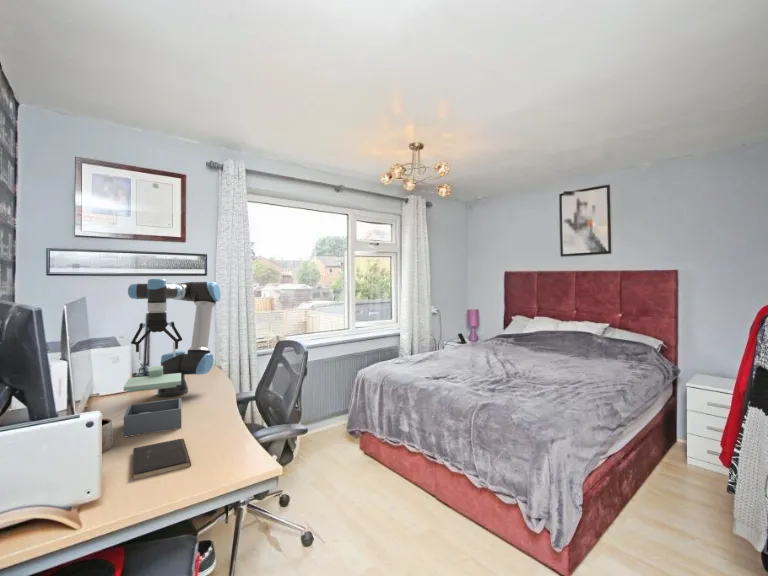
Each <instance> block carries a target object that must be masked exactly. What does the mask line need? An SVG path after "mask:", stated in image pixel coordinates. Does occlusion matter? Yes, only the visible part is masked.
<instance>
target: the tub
mask: <svg viewBox="0 0 768 576" xmlns="http://www.w3.org/2000/svg"><path fill="white" fill-rule="evenodd" d="M175 428H177V429H181V428H182V398H181V397H180V398H173V399H164V400H157V401H150V402H140V403H133V404H128V407H127V409H126V410H125V413H124V415H123V437H124V438H126V437H125V436H128V437H132V436H131V435H134V436H139V435H138V434H140V435H145V434H144V433H146V434H151V433H157V432H164V430H165V431H169V430H170V429H171V430H176V429H175ZM171 430H170V431H171Z"/></svg>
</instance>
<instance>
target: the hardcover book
mask: <svg viewBox="0 0 768 576" xmlns="http://www.w3.org/2000/svg"><path fill="white" fill-rule="evenodd" d="M189 455H190V454H189V452H188V448H187V445H186V441H185V439H184V438H177V439H173V440H166V441H162V442H157V443H153V444H148V445H142V446H138V447H133V449H132V469H131V470H132V472H131V474H132V475H131V476H133V480H138V479H142V478H147V477H149V476H154V475H159V474H163V473H167V472H171V471H175V470H176V471H177V470H180V469H184V468H188V467H191V466H192V462H191V458H190V456H189Z"/></svg>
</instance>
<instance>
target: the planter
mask: <svg viewBox="0 0 768 576" xmlns="http://www.w3.org/2000/svg"><path fill="white" fill-rule="evenodd" d="M101 419H102V451H103V452H106V451H108V450H109V449H110V448H111V447H112V446H113V421H112V419H110V418H101ZM107 449H108V450H107ZM105 450H106V451H105ZM103 452H102V453H103Z"/></svg>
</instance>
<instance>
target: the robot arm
mask: <svg viewBox="0 0 768 576" xmlns="http://www.w3.org/2000/svg"><path fill="white" fill-rule="evenodd" d="M127 295H128V296H129V298H130V299H133V300H147V312H148V313H147V323H143V322H140V323H139V326H138V330H137V331H136V333H135V335H134V337H132V340H131V341H130V344H131V345H134V346H135V352H136V353H138V360H140V361H141V360H142V344H141V343H142V342H143V341H144V340H145V339H146V337H147V336H149V334H150V333H151V332H152V333H162V332H164V333H165V334H166V335H167V336H169V337H170V339H172V341H173V342H172V343H173V345H172V346H173V350H172V352H167V353H165V354H162V355H161V357H160V366H163V375H165V374H175V373H181V385H176V387H172V388H164V389H157V396H158V397H160V396H161V398H169V397H168V396H171V397H176V395H178V396H181V395H180V394H182V395H185V394H187V393H188V392H189V386H188V384H187V381H186V377H185V376H186V375H187V376H188V375H189V376H190V375H197V376H200V375H206V374H208V373H209V372H210V371H211V370H212V368H213V364H214V354H213V353H211V350H210V348H209V339H210V331H211V323H212V314H213V308H214V307H215V306H216V304H217V302H220V299H221V289H220V286H219V284H218V283H217V282H215V281H186V282H179V283H178V282H177V283H173V282H172V283H171V282H168V283H167V280H166V279H165V278H149V279H148V280H147V283H131V284H130V285H129V286H128V288H127ZM168 299H169V300H170V299H173V300H175V301H176V300H177V301H184V302H193V304H194V305H195V314H194V323H193V330H192V331H193V332H192V338H191V339H192V340H191V345H190V346H191V347H189V348H188V349H187V352H185V351H184V350H178V349H179V342H182V341H183V337H182V335H181V334H180V332H179V330H178V329H177V327H176V326H175V322H174V321H170V322H168V321H167V320H168V319H167V315H168V313H167V312H166V311H167V300H168ZM168 326H169V327H170V328H171V329H172V330H173V332H174V334H175V335H176V337H175V336H174V334H172V333H171V332H170V331H169V330H168V329H167V327H168ZM145 327H147V329H148V330H147V331H146V332H145V333H144V334H143V335H142V336H141V337H140V338H139V335H140V333H141V332H142V330H143V329H144V328H145ZM138 338H139V339H138ZM137 339H138V340H137ZM176 350H178V351H176ZM184 393H185V394H184Z"/></svg>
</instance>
